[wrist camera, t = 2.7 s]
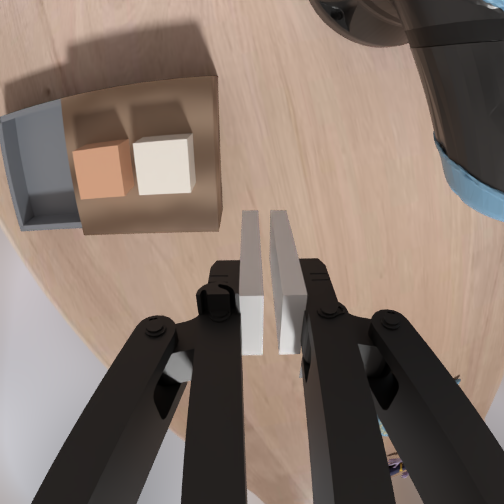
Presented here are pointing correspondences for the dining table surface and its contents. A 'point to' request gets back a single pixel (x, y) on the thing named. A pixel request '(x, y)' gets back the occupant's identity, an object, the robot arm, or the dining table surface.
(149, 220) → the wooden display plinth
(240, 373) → the robot arm
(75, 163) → the orange square block
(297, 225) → the dining table surface
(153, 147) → the off-white block
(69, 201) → the box
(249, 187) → the dining table surface
